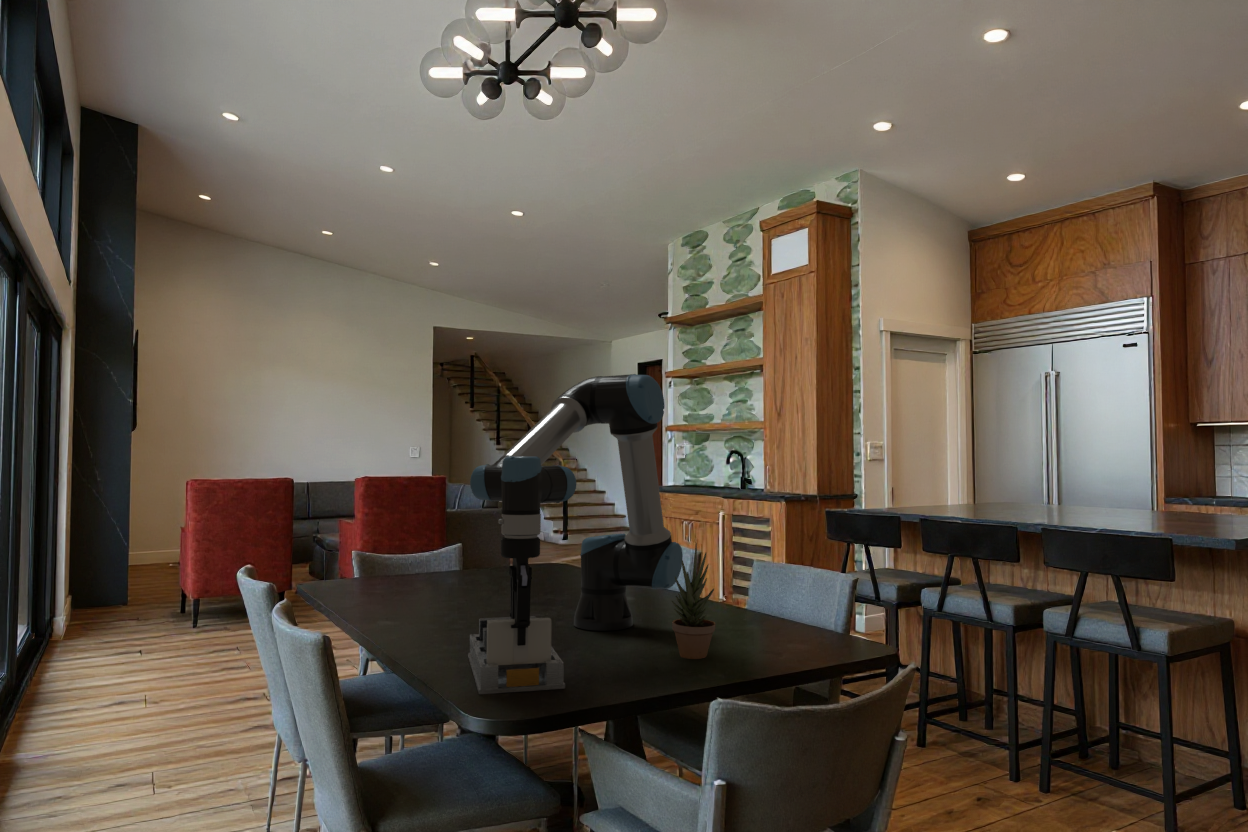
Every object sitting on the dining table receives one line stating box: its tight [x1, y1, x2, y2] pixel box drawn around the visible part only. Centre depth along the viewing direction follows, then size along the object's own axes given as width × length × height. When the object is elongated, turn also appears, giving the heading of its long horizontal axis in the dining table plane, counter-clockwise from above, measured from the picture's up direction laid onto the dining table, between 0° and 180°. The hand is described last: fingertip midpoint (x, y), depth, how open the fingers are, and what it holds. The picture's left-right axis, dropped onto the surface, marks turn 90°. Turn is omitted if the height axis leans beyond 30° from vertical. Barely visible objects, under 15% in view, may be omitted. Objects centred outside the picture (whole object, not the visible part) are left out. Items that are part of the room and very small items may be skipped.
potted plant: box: [671, 542, 716, 660], centre depth 183 cm, size 10×10×25 cm
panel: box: [486, 617, 552, 665], centre depth 159 cm, size 3×12×8 cm, turn 105°
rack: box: [467, 615, 566, 695], centre depth 169 cm, size 29×16×9 cm, turn 14°
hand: (519, 659), depth 159 cm, fingers closed on panel, 3 cm apart
